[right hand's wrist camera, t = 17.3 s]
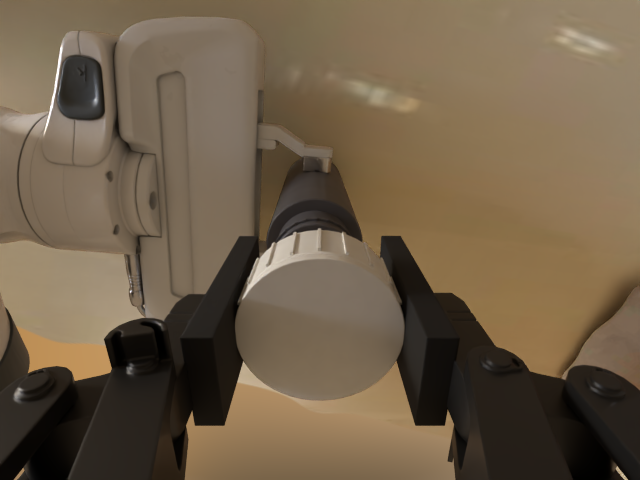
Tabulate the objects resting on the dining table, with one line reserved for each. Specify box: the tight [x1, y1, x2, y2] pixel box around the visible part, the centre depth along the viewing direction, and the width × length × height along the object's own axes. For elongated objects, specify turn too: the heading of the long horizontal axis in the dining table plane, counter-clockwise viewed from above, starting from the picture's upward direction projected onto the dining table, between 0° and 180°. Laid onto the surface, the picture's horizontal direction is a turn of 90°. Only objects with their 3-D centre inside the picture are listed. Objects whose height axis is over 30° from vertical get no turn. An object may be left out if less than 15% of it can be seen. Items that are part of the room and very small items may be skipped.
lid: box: [235, 228, 405, 400], centre depth 11 cm, size 5×5×2 cm
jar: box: [266, 157, 362, 250], centre depth 23 cm, size 5×5×16 cm
